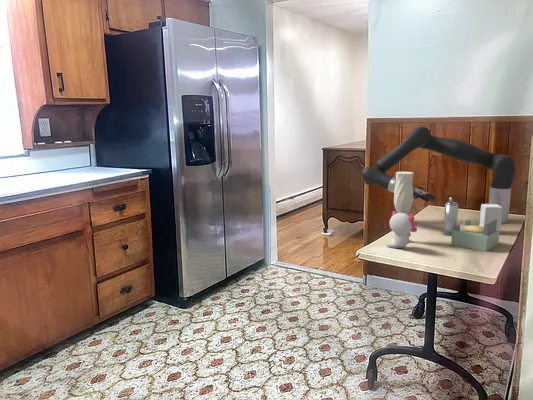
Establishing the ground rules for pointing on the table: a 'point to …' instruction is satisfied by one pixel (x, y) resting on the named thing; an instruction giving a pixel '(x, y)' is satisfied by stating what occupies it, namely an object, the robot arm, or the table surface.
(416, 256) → the table surface
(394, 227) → the toy
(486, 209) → the supplement box
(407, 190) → the vase
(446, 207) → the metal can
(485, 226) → the green and yellow block
